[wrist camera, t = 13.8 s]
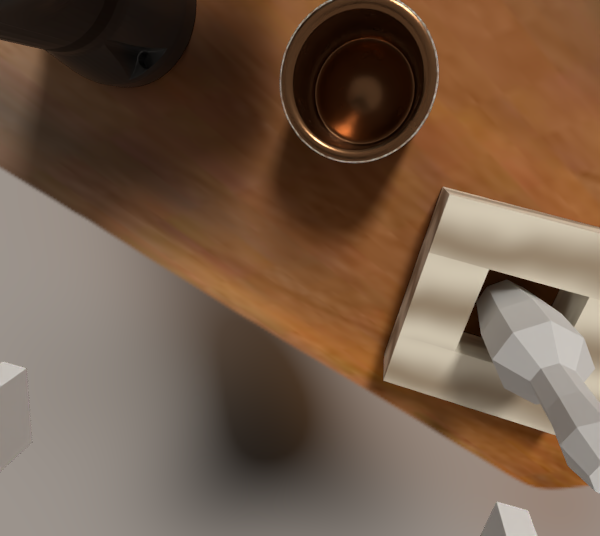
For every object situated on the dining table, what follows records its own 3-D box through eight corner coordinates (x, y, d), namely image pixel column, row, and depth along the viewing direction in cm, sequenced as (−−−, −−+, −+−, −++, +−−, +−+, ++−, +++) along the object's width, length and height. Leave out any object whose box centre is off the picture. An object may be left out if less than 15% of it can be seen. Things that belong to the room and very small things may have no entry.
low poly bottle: (453, 300, 41) (515, 466, 21) (510, 258, 39) (640, 398, 19) (497, 345, 42) (598, 551, 21) (555, 306, 40) (729, 494, 19)
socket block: (442, 186, 39) (449, 194, 34) (651, 240, 36) (689, 257, 32) (384, 354, 45) (383, 380, 40) (559, 409, 43) (580, 443, 38)
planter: (434, 145, 38) (447, 150, 29) (314, 166, 40) (293, 176, 31) (421, 9, 35) (432, -33, 26) (294, 41, 37) (263, 13, 28)
